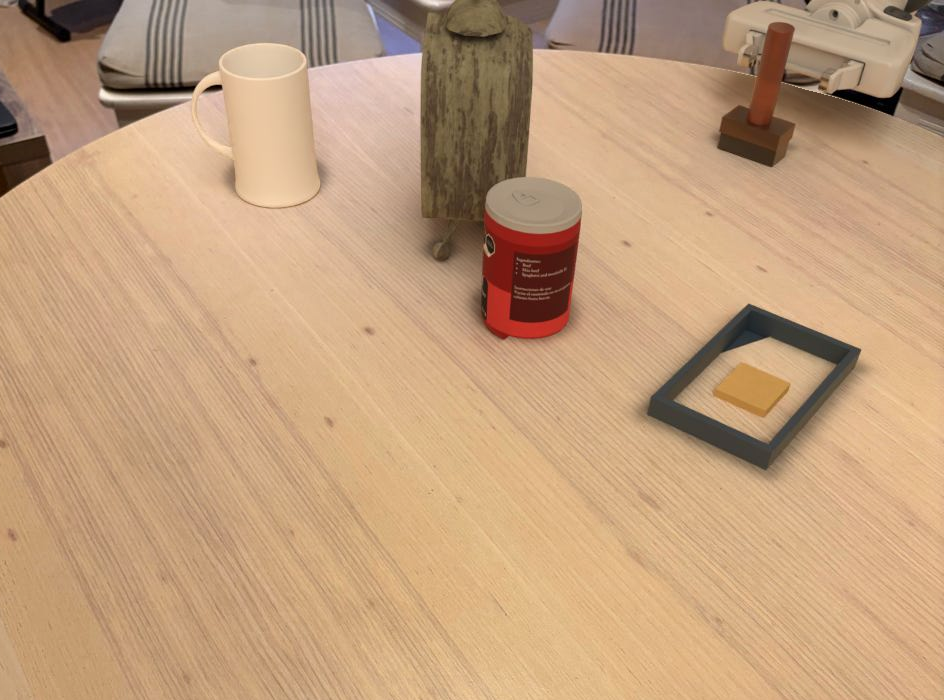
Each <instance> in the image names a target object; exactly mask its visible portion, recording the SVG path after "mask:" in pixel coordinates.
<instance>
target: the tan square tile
mask: <svg viewBox="0 0 944 700" xmlns="http://www.w3.org/2000/svg"><path fill="white" fill-rule="evenodd" d="M790 387H791V382H789V381H787V380H784V379H782V378H780V377H777V376H775V375H773V374H771V373H768V372H766V371H764V370H762V369H758V368H757V367H754V366H752V365H750V364H747V363H745V362H742V361H741V362H740V363H739V364H738V365H737V366H735V368H734V369H733V370H732V371H731V372H730V373H729V374H728V375H727V376H726V377H725V378H724V379H723V380H722V381H721V382H720V383H719V384H718V385H717V386H716V387H715V389H714V392H713V397H714V398H718V399H720V400H722V401H724V402H726V403H728V404H731V405H732V406H735V407H736V408H740V409H742V410H744V411H746V412H749V413H751V414H753V415H755V416H757V417H760V418H761V419H764V418H766V417H767V415H769V413H770V412H771V411H772V410H773V409H774V407H776V405H777V404H778V403H779V402H780V401H781V400H782V399H783V398H784V397H785V396H786V394H788V392H789V391H790Z"/></svg>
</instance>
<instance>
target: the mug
mask: <svg viewBox="0 0 944 700" xmlns="http://www.w3.org/2000/svg"><path fill="white" fill-rule="evenodd" d="M218 69H219V70H217V71H214V72H211V73H209V74H207V75H206V76H205V77H203V78H202V79H201V80H200V81H199V82H198V83H197V85H196V86H195V88H194V90H193V92H192V95H191V101H190V113H191V114H190V115H191V118H192V122H193V126H194V127H195V129H196V132H197V133H198V135H199V136H200V138H201V139H202V140H203V142H204V143H205V144H206V145H207V147H209V148H210V149H211V150H213V151H214V152H216V153H217V154H219V155H220V156H222V157H225V158H228V159H229V160H233V165H234V175H235V181H234V189H235V191H236V194H237V195H238V197H240V198H241V199H242V200H243V201H244V202H247V203H248V204H251V205H253V206H256V207H257V206H258V207H263V208H269V209H270V208H273V209H281V208H289V207H294V206H298V205H301V204H304V203H306V202H308V201H310V199H312V198H314V197H315V196H316V195H317V194H318V192H319V191H320V189H321V178H320V175H319V172H318V167H317V166H318V165H317V156H316V147H315V145H316V144H315V136H314V135H315V134H314V124H313V114H312V113H313V112H312V103H311V93H310V92H311V91H310V81H309V70H308V60H307V56H306V55H305V54H304V53H303V52H302V51H301V50H300V49H297V48H296V47H294V46H293V47H292V46H290V45H286V44H281V43H272V42H259V43H258V42H257V43H249V44H245V45H240V46H237V47H234V48H232V49H230V50H228V51H226V52H225V53H223V54H222V55H221V56H220V58H219V60H218ZM216 85H219V86H221V87H222V88H221V89H222V93H223V100H224V107H225V114H226V120H227V127H228V133H229V139H230V140H229V141H230V145H224V144H222V143H220V142H218V141H217V140H214V139H213V138H212V137H211V136H210V135H209V134H208V133H207V132H206V130H205V129H204V128H203V126H202V124H201V122H200V119H199V117H198V112H197V111H198V110H197V107H198V100H199V98H200V96H201V94H202V93H203V92H204V91H205V90H207V88H210V87H211V86H216Z"/></svg>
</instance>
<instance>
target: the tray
mask: <svg viewBox="0 0 944 700" xmlns="http://www.w3.org/2000/svg"><path fill="white" fill-rule="evenodd" d="M767 338H772V339H774V340H776V341H779V342H781V343H783V344H786V345H788V346H791V347H793V348H796V349H798V350H800V351H803V352H805V353H808V354H809V355H812V356H814V357H817V358H820V359H822V360H824V361H827V362H829V363H831V364H834V365H836V366H835V367H834V369H833V370H832V371H830V373H828V375H827V376H826V377H825V379H823V381H822V382H821V383H820V384H819V386H818V387H817V388H816V389H815V390H814V391H813V392H812V393H811V394H810V396H809V397H808V398H807V399H806V400H805V401H804V402H803V403H802V405H801V406H800V407H799V408H798V409H797V410H796V411H795V412H794V414H793V415H792V416H791V417H790V418H789V419H788V420H787V422H786V423H785V424H784V425H783V426H782V427H781V429H779V431H777V433H775V435H774V436H773V438H772V439H771V440H770V441H769V442H768V443H766V442H764V441H762V440H760V439H758V438H756V437H753V436H751V435H749V434H747V433H745V432H743V431H741V430H738V429H736V428H733V427H731V426H730V425H727V424H725V423H723V422H722V421H719V420H716V419H714V418H712V417H710V416H707V415H705V414H704V413H702V412H699V411H698V410H695V409H693V408H690V407H688V406H686V405H684V404H682V403H679V402H677V401H675V399H676V398H677V397H678V396H679V395H680V394H681V393H682V392H683V391H684V390H685V389H686V388H687V387H688V386H689V385H690V384H691V383H692V382H693V381H695V380H696V378H697V377H698V376H699V375H700V374H702V373H703V372H704V370H705V369H706V368H707V367H709V366H710V364H711V363H713V362H714V361H715V360H716V359H717V358H718V357H719V356H720V355H721V354H724V353H726V352H730V351H732V350H736V349H738V348H741V347H744V346H747V345H750V344H753V343H755V342H759V341H763V340H764V339H767ZM861 352H862V349H861V348H859V347H858V346H855V345H852V344H850V343H847V342H845V341H842V340H841V339H840V340H839V339H837V338H835V337H832V336H830V335H828V334H825V333H822V332H821V331H818V330H816V329H812V328H810V327H808V326H806V325H803V324H800V323H798V322H795V321H793V320H790V319H788V318H786V317H784V316H780V315H778V314H776V313H773V312H771V311H768V310H766V309H764V308H761V307H759V306H756V305H754V304H752V303H747V304H746V305H745V306H744V307H743V308H741V310H740V311H739V312H738V313H737V314H735V316H734V317H733V318H732V319H731V320H729V321H728V322H727V323H726V324H725V325H724V326H723V327H722V328H721V329H720V330H719V331H718V332H717V333H716V334H715V335H714V336H713V337H712V338H711V339H710V340H709V341H707V342H706V344H704V345H703V346H702V347H701V348H700V349H699V350H698V351H697V352H696V353H695V354H694V355H693V356H692V357H691V358H689V360H688V361H687V362H686V363H685V364H684V365H683V366H681V368H680V369H678V370H677V372H675V373H674V374H673V375H672V376H671V377H670V378H669V379H668V380H667V381H666V382H665V383H664V384H663V385H662V386H661V387H659V389H657V391H655V392H654V393H653V394H652V395H651V397H650V400H649V405H648V410H647V414H646V415H647V416H649V417H651V418H653V419H655V420H658V421H660V422H662V423H664V424H666V425H668V426H671V427H673V428H674V429H676V430H679V431H681V432H683V433H685V434H687V435H690V436H692V437H694V438H696V439H698V440H700V441H703V442H704V443H707V444H708V445H711V446H713V447H715V448H717V449H719V450H721V451H723V452H726V453H728V454H730V455H732V456H734V457H736V458H739V459H741V460H742V461H744V462H746V463H749V464H751V465H753V466H755V467H758V468H760V469H762V470H764V471H767V470H768V469H769V468H770V466H771V465H772V464H773V463H774V462H775V461H776V460H777V459H778V457H779V456H780V455H781V454H782V453H783V452H784V450H785V449H786V448H787V447H788V446H789V445H790V443H791V442H793V440H794V439H795V438H796V436H797V435H798V434H799V433H800V432H801V430H803V428H804V427H805V426H806V425H807V423H808V422H809V421H810V420H811V419H812V418H813V417H814V416H815V414H816V413H817V412H818V411H819V410H820V409H821V408H822V407H823V405H824V404H825V403H826V402H827V400H828V399H829V398H830V397H831V396H832V395H833V393H834V392H835V391H836V390H837V389H838V387H840V385H841V384H842V383H843V381H844V380H845V379H847V377H848V376H849V375H850V374H851V372H852V371H853V370H854V369H855V368H856V365H857V362H858V360H859V357H860V355H861Z"/></svg>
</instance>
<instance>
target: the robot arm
mask: <svg viewBox="0 0 944 700" xmlns="http://www.w3.org/2000/svg"><path fill="white" fill-rule="evenodd" d="M933 1H934V0H810V2H808V4H807V5H806V6H805V8H804V9H800V8H796V7H793V6H790V5H786V4H782V3H778V2H776V1H775V2H774V1H769V0H759V1H754V2H751V3H749V4H748V3H747V4H745V5H742V6H741V7H739V8H736V9H735V10H733V11H730V12H729V14H727V16H726V20H725V23H724V27H723V30H722V31H723V32H722V38H721V45H722V48H723V50H724V51H726V52H728V53H731V54H735V55H737V60H736V65H737V66H739V67H743V68H746V69H751V68H752V67H755V65H756V64H757V62H760V60H761V55H762V51H763V47H764V43H765V38H766V34H767V30H768V26H769V24H771V23H774V22H784V23H788V24H791V25H793V26H794V27H795V31H794V35H793V39H792V43H791V47H790V51H789V55H788V59H787V63H786V67H785V70H787V71H790V72H793V73H796V74H800V75H804V76H806V77H810V78H813V79H817V80H819V81H820V83H818V86H817V90H818V91H820V92H822V93H826V94H829V95H832V94H833V93H834V92H836V91H841V90H843V91H844V90H852V91H856V92H859V93H862V94H866V95H869V96H872V97H876V98H877V99H878V98H880V99H886V98H887V99H888V98H892V97H893V96H894V95H895V94H896V93H897V92H898V91H899V90H900V89H901V88H902V85H903V82H904V79H905V77H906V74H907V71H908V69H909V68H910V64H911V61H912V59H913V56H914V54H915V51H916V47H917V45H918V41H919V37H920V33H921V30H922V29H921V28H922V24H923V21H922V20H921V19H920V18H919V17H917V16H916V14H917V12H918V11H919V10H921V9H924V8H925V7H927V6H928V5H930V4H931V3H932V2H933Z"/></svg>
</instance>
